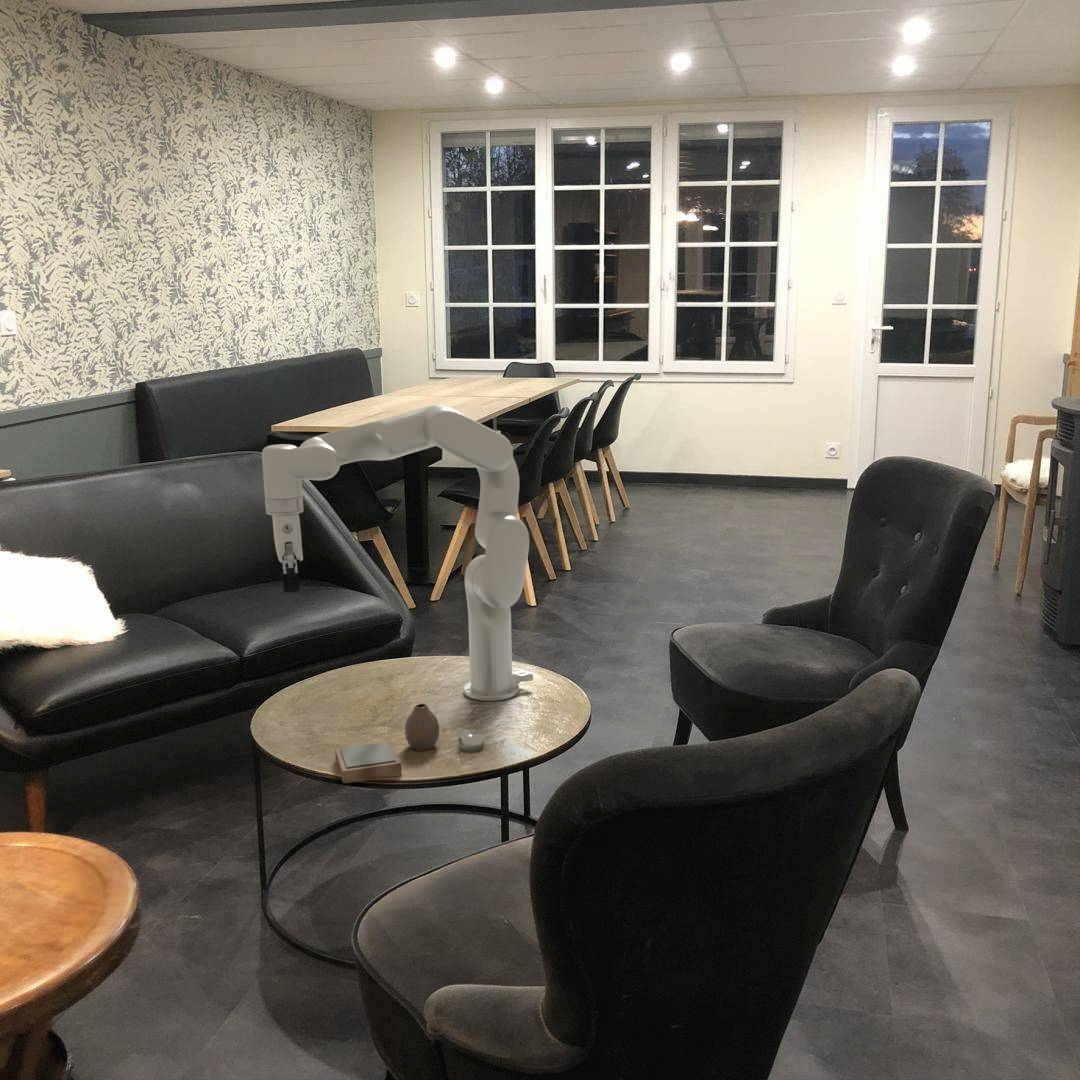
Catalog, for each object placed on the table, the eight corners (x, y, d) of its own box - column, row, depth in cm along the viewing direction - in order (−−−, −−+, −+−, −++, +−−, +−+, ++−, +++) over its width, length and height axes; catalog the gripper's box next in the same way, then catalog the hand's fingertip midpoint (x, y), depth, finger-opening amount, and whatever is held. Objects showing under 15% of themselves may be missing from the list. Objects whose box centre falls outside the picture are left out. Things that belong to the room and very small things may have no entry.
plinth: (391, 752, 221) (390, 739, 220) (401, 775, 211) (401, 761, 210) (335, 760, 218) (334, 747, 217) (343, 783, 207) (342, 769, 207)
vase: (444, 741, 226) (443, 700, 224) (432, 755, 220) (430, 713, 218) (413, 738, 228) (411, 697, 226) (400, 751, 221) (398, 710, 219)
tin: (480, 742, 226) (479, 728, 225) (486, 751, 221) (486, 737, 220) (456, 745, 224) (455, 731, 223) (461, 755, 219) (461, 740, 219)
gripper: (306, 511, 221) (312, 594, 225) (299, 496, 237) (304, 574, 241) (267, 514, 219) (274, 598, 223) (263, 499, 235) (269, 577, 239)
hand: (289, 585), depth 232 cm, fingers open, 9 cm apart
